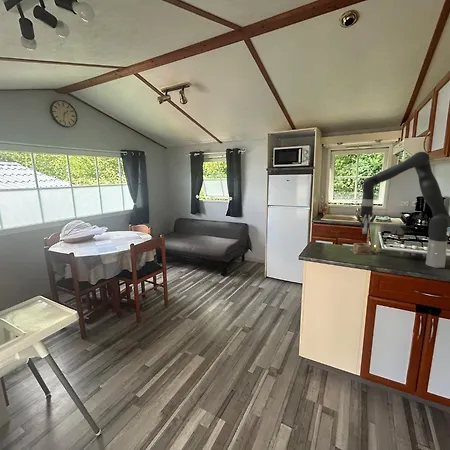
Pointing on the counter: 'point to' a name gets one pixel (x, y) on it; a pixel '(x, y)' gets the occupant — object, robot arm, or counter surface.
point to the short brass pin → (376, 248)
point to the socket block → (361, 249)
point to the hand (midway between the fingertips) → (364, 227)
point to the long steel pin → (365, 226)
